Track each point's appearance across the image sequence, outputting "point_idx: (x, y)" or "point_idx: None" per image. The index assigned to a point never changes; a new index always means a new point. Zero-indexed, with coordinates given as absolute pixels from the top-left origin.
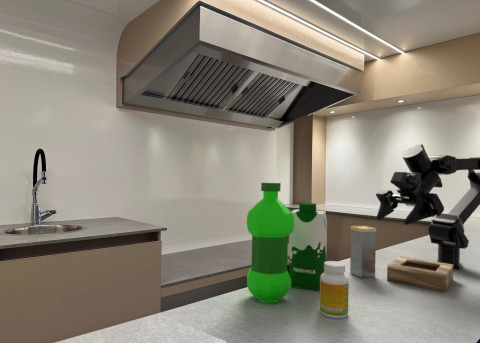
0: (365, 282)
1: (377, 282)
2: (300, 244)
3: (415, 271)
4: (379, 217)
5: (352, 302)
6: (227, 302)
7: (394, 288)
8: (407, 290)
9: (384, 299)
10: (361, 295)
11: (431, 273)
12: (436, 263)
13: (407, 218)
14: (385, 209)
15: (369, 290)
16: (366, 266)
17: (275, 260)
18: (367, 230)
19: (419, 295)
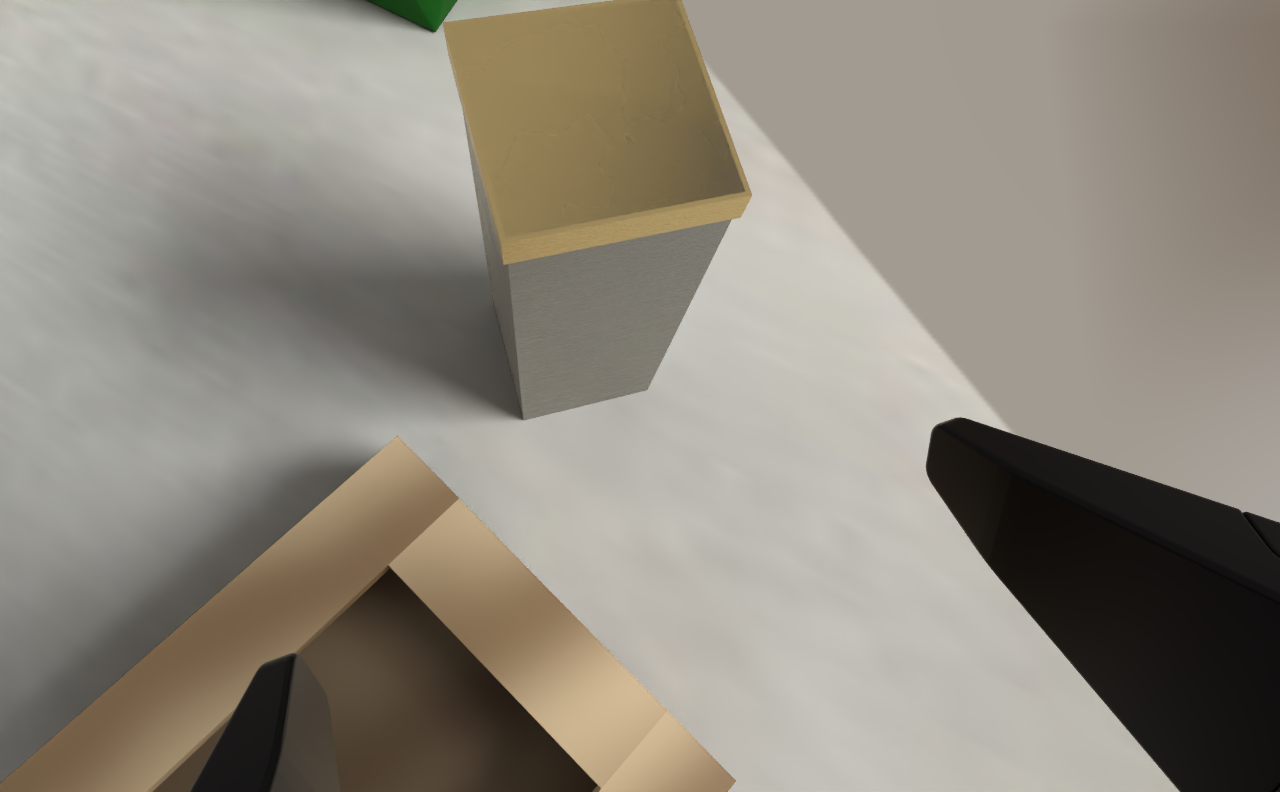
0: (400, 285)
1: (390, 369)
2: None
3: (201, 613)
4: (958, 475)
5: (60, 41)
6: None
7: (243, 420)
8: (184, 492)
9: (56, 236)
10: (157, 140)
11: (72, 720)
12: None
13: (230, 745)
14: (1220, 675)
15: (236, 230)
16: (498, 308)
17: None
18: (465, 113)
19: (64, 518)
